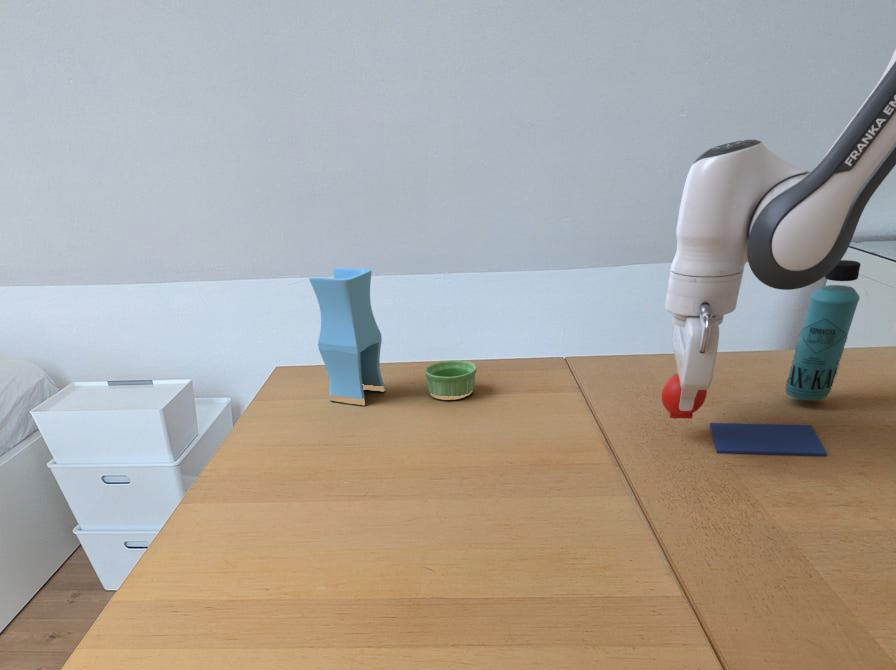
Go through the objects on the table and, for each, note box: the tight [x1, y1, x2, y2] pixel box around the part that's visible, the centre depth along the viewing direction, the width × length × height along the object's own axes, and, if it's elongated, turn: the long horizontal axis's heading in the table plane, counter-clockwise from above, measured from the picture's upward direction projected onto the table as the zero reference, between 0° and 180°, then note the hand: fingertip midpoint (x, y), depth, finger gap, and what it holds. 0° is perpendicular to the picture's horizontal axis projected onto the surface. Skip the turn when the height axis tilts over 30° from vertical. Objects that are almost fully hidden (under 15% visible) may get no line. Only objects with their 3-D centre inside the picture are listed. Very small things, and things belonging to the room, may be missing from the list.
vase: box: [308, 267, 385, 399], centre depth 119 cm, size 8×8×20 cm
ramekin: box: [424, 359, 477, 397], centre depth 122 cm, size 9×9×4 cm
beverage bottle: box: [784, 259, 861, 401], centre depth 104 cm, size 6×7×20 cm
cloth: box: [709, 422, 828, 457], centre depth 100 cm, size 14×10×1 cm
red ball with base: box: [661, 372, 708, 420], centre depth 98 cm, size 6×6×7 cm
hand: (683, 399), depth 99 cm, fingers closed on red ball with base, 6 cm apart
